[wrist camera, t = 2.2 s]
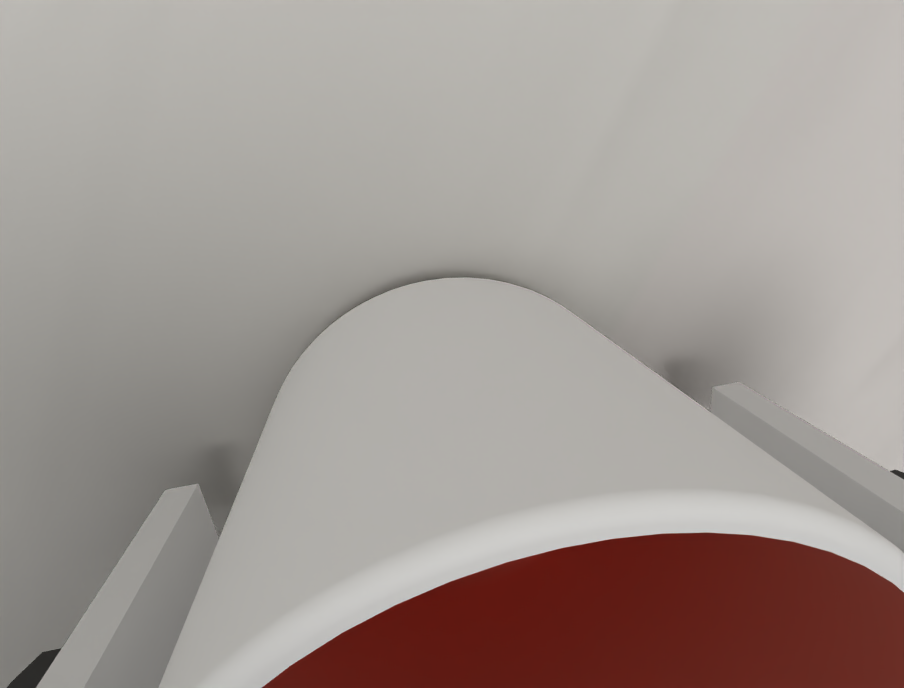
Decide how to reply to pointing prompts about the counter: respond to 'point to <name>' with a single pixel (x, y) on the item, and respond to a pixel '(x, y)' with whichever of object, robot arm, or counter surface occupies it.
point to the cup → (524, 524)
